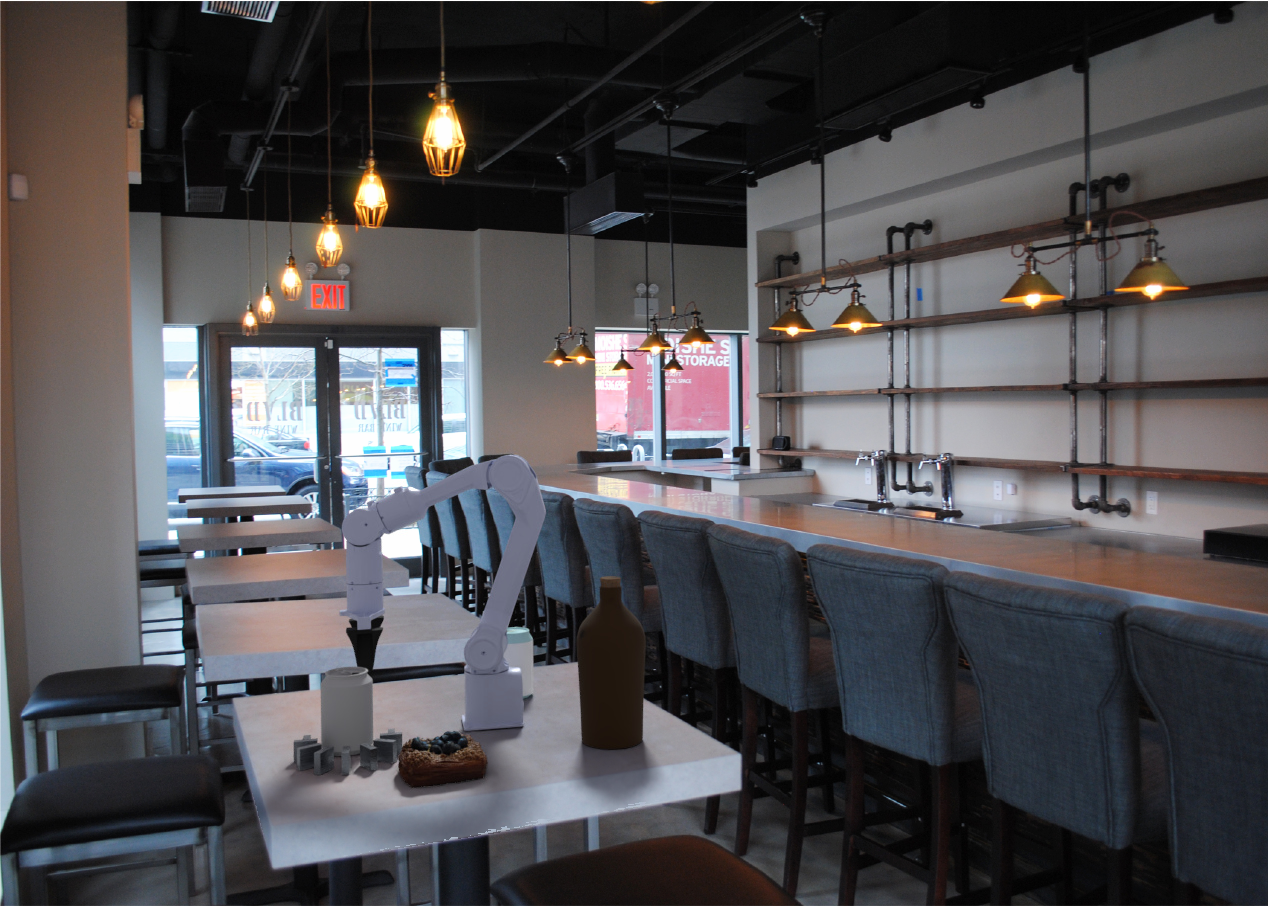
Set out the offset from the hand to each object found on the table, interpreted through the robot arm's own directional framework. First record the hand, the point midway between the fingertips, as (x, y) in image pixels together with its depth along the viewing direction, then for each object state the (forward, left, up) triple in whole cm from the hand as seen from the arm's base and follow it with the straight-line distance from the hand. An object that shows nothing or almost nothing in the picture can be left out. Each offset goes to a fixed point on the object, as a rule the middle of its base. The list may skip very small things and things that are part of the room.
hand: (366, 666), depth 155 cm
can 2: (-25, -13, -10) cm, 30 cm away
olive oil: (-37, +17, -10) cm, 42 cm away
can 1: (+2, +12, -10) cm, 16 cm away
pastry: (-11, +25, -10) cm, 30 cm away
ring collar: (+2, +18, -10) cm, 20 cm away
